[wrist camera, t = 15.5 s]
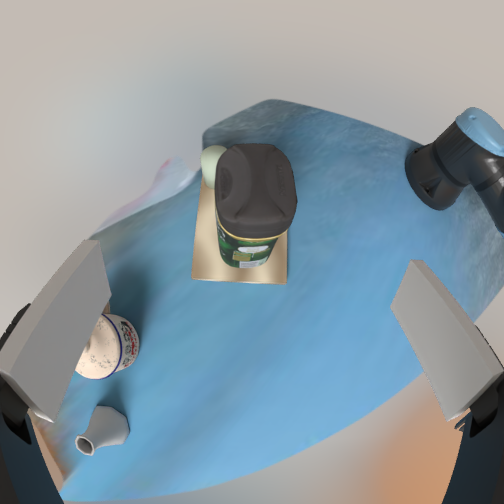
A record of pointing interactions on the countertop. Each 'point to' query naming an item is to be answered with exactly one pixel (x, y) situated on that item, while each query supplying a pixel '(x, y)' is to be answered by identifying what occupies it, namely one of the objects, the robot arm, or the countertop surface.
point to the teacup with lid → (109, 347)
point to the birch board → (209, 258)
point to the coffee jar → (252, 202)
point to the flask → (103, 430)
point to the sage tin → (210, 163)
